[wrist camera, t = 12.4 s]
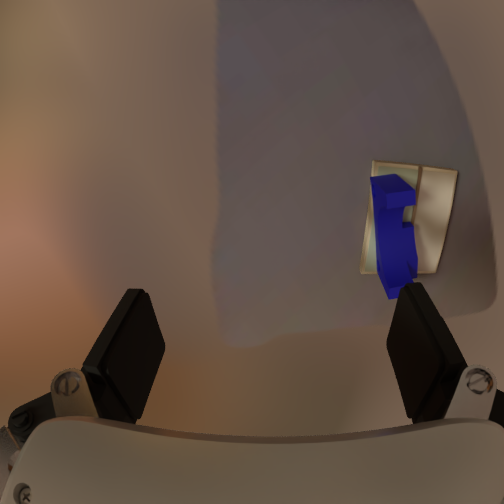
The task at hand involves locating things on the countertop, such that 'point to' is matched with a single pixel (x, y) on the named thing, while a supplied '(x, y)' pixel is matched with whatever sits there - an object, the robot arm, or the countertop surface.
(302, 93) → the countertop surface
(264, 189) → the countertop surface
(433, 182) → the board
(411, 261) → the cable clip
